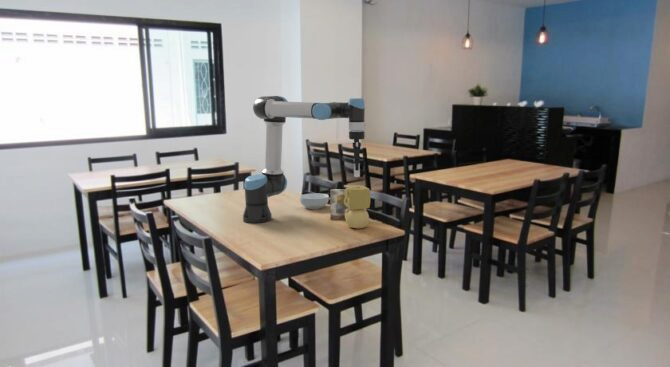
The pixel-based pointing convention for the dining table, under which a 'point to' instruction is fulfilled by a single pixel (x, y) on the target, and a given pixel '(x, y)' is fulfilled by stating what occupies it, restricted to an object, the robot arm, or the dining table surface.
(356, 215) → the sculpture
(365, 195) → the cheese
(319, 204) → the cereal bowl
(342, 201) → the stand
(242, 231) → the dining table surface
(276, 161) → the robot arm
